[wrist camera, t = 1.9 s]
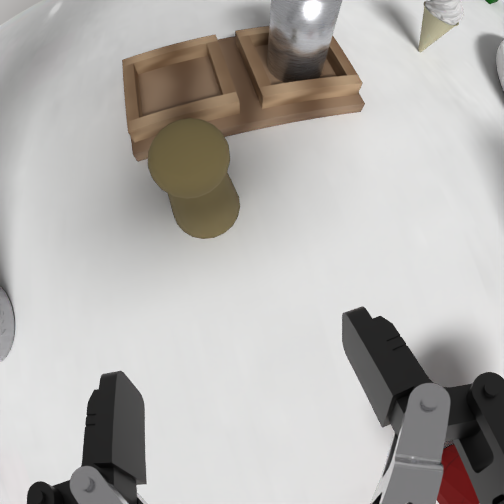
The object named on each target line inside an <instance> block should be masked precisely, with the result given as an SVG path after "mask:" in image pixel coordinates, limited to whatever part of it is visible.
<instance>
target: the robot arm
mask: <svg viewBox="0 0 504 504" xmlns="http://www.w3.org/2000/svg"><path fill="white" fill-rule="evenodd" d="M13 338H14V315H13V310H12V306H11V303H10V301H9V298H8V296H7V294H6V293H5V291H4V290H3V289H2V287H1V286H0V361H2V360H3V359H4V358H5V357H6V356H7V355H8V353H9V351H10V349H11V346H12V343H13ZM342 342H343V347H344V350H345V353H346V356H347V358H348V360H349V362H350V364H351V365H352V367H353V369H354V371H355V373H356V375H357V377H358V379H359V381H360V383H361V385H362V387H363V389H364V391H365V393H366V395H367V397H368V399H369V401H370V403H371V405H372V408H373V410H374V412H375V414H376V416H377V418H378V420H379V422H380V424H381V426H382V427H384V426H387V425H389V424H391V425H392V427H393V429H394V431H395V432H394V435H393V439H392V442H391V446H390V450H389V453H388V456H387V460H386V463H385V466H384V469H383V472H382V475H381V478H380V481H379V483H378V485H377V488H376V490H375V493H374V495H373V498H372V501H371V503H370V504H436V500H437V496H438V493H439V489H440V485H441V481H442V476H443V464H442V463H441V458H442V453H443V448H444V443H445V442H447V441H451V440H453V443H454V445H455V447H456V449H457V451H458V453H459V456H460V458H461V460H462V462H463V464H464V467H465V469H466V471H467V473H468V476H469V478H470V480H471V483H472V485H473V488H474V490H475V492H476V495H477V497H478V500H479V502H480V504H504V379H503V378H502V377H501V376H500V375H498V374H496V373H492V372H486V373H483V374H481V375H479V376H478V377H477V378H476V379H475V381H474V382H473V384H468V385H462V386H457V387H450V388H447V387H442V386H440V385H438V384H435V383H433V382H432V381H431V380H430V379H429V378H428V376H427V375H426V373H425V372H424V370H423V369H422V367H421V366H420V364H419V363H418V361H417V359H416V358H415V356H414V355H413V353H412V352H411V350H410V349H409V347H408V346H406V343H405V341H404V340H403V338H402V337H400V334H399V333H398V331H397V330H396V328H395V327H394V325H393V324H392V323H391V322H389V321H388V320H386V319H385V318H383V317H382V316H379V317H376V318H373V319H372V317H371V316H370V314H369V313H368V311H367V310H366V309H365V308H364V307H360V308H357V309H354V310H351V311H348V312H345V313H343V315H342ZM85 425H86V427H85V434H84V445H83V459H82V465H81V467H80V468H78V469H77V470H76V471H75V472H74V473H73V474H72V476H71V479H70V480H69V481H66V482H63V483H60V484H57V485H54V486H51V485H49V484H47V483H45V482H41V481H40V482H36V483H34V484H33V485H32V486H31V487H30V488H29V491H28V494H27V504H147V503H146V502H145V501H144V500H143V498H142V497H141V496H140V495H139V494H138V493H137V488H136V485H138V484H147V483H146V463H145V408H144V401H143V398H142V395H141V394H140V392H139V391H138V390H137V388H136V387H135V386H134V385H133V384H132V382H131V381H130V380H129V379H128V377H127V376H126V375H125V374H124V373H123V372H122V371H117V372H112V373H106V374H103V375H102V376H101V378H100V385H99V389H97V390H94V391H93V393H92V395H91V397H90V399H89V401H88V407H87V417H86V424H85Z"/></svg>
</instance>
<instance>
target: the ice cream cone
mask: <svg viewBox="0 0 504 504" xmlns="http://www.w3.org/2000/svg"><path fill="white" fill-rule="evenodd" d="M461 1H462V0H431V1H425V2H424V14H423V21H422V28H421V35H420V42H419V49H418V51H419V52H422V51H423V50H425V49H426V48H427V47H428V46H430V45H431V44H432V43H434V42H435V41H436V40H438V39H439V38H440V37H441V36H443V35H444V34H445V33H447V32H448V31H449V30H451V29H452V28H453V27H455V26H458V24H459V21H460V20H461V19H462V18H463V16H464V11H463V7H462V3H461Z"/></svg>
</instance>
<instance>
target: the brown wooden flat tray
mask: <svg viewBox="0 0 504 504" xmlns="http://www.w3.org/2000/svg"><path fill="white" fill-rule="evenodd" d="M269 27H270V26H265V27H257V28H250V29H244V30H238V31H235V35H236V36H235V37H229V38H224V39H219V40H217V37H216V35H211V36H206V37H202V38H197V39H193V40H189V41H185V42H181V43H177V44H173V45H169V46H166V47H162V48H159V49H155V50H152V51H148V52H145V53H142V54H139V55H136V56H133V57H130V58H127V59H124V60H122V63H123V80H124V94H125V106H126V116H127V126H128V133H129V134H130V136H131V142H132V150H133V155H134V157H135V158H136V160H137V161H141V160H144V159H147V158H148V151H149V148H150V146H151V143H152V141H153V139H154V138H155V137H156V135H157V134H158V133H159V132H160V130H162V129H163V128H164V127H166V126H167V125H168V124H170V123H172V122H175V121H177V120H180V119H187V118H193V119H201V120H204V121H206V122H209V123H211V124H213V125H214V126H215V127H216V128H218V129H219V130H220V131H221V132H222V134H223V135H224V137H226V136H230V135H234V134H239V133H243V132H247V131H252V130H257V129H261V128H266V127H271V126H276V125H281V124H286V123H291V122H297V121H302V120H308V119H314V118H320V117H326V116H333V115H340V114H347V113H354V112H361V110H362V108H363V106H364V104H365V103H364V101H363V100H362V98H361V96H360V94H359V90H360V88H361V85H362V81H361V80H360V78H359V76H358V75H357V73H356V71H355V70H354V68H353V66H352V65H351V63H350V61H349V60H348V58H347V57H346V55H345V53H344V52H343V50H342V49H341V47H340V46H339V44H338V43H337V41H336V40H335V38H334V37H333V35H332V39H331V42H330V46H329V49H328V53H327V56H326V60H325V63H324V67H323V70H322V74H321V76H320V77H319V78H317V79H309V80H302V81H295V82H288V83H285V82H282V81H280V80H278V79H277V78H275V77H274V76H273V75H272V74H271V73H270V72H269V70H268V67H267V55H268V41H269Z"/></svg>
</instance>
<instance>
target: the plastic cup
mask: <svg viewBox="0 0 504 504" xmlns="http://www.w3.org/2000/svg"><path fill="white" fill-rule="evenodd" d="M441 463H442V464H443V476H442V481H441V485H440V489H439V493H438V496H437V501H438V502H439V504H480V502H479V500H478V497H477V495H476V492H475V490H474V488H473V485H472V483H471V480H470V478H469V476H468V473H467V471H466V469H465V467H464V464H463V462H462V460H461V458H460V456H459V453H458V451H457V449H456V447H455V445H451V446H449V447H447V448H445V449H443V453H442V458H441Z"/></svg>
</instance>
